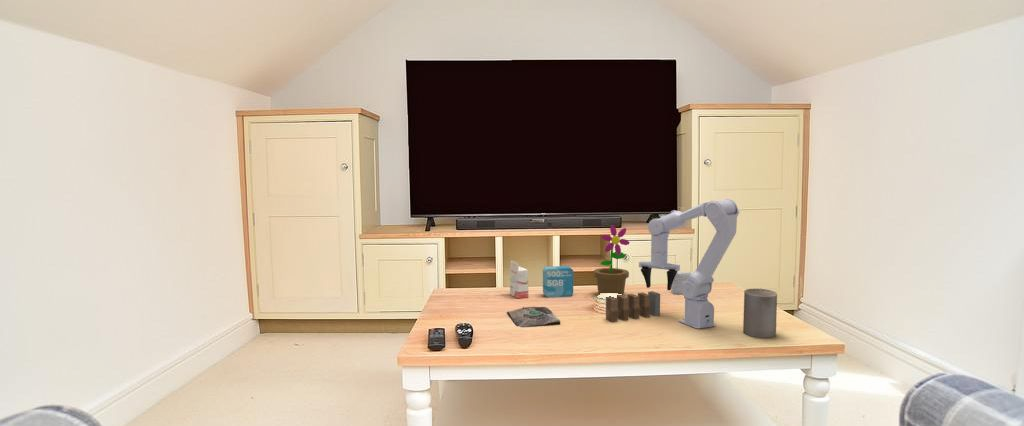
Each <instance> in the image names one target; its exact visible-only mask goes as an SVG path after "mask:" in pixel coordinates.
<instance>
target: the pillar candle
mask: <svg viewBox="0 0 1024 426" xmlns="http://www.w3.org/2000/svg"><path fill="white" fill-rule="evenodd" d="M777 306H778V293H777V292H776V291H774V290H770V289H765V288H747V289H745V290H744V296H743V321H742V323H743V325H742V326H743V327H742V331H743V332H742V333H743V334H744V335H746V336H749V337H753V338H758V339H767V338H769V339H770V338H772V339H773V338H775V337H776V336H777V308H778V307H777Z"/></svg>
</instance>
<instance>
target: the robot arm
mask: <svg viewBox="0 0 1024 426" xmlns="http://www.w3.org/2000/svg"><path fill="white" fill-rule="evenodd" d="M739 214H740V210H739V207H738V206H737V204H736V202H735V201H734V200H732V199H728V198H727V199H722V200H710V201H707V202H702V203H701V204H698V205H696V206H694V207H692V208H690V209H687V210H685V211H680V210H675V209H673V210H671V211H670V213H668V214H666V215H665V214H663V215H660V218H652V219H651V220H650V221H649V222H648V224H647V229H648V232H649V233H650V237H651V240H650V242H651V243H650V244H651V245H650V253H651V254H650V261H643V260H642V261H641V260H640V261H639V262H638V268H640V272H641V274H642V275H643V278H644V282H645V286H646V288H648V289H649V288H651V283H652V282H651V280H652V279H651V275H652V269H657V270H664V271H666V270H667V271H666V277H667V283H666V287H667V288H666V289H667V291H671V286H672V283H673V280H674V278H675V276H676V274H677V272H680V271H681V265H680V264H675V263H671V262H670V263H669V262H668V247H669V246H668V245H669V243H668V242H669V240H668V238H669V237H670V235H669V234H670V232H672V231H674V230H677V229H679V228H681V227H684V226H686V223H687V222H688V221H691V220H693V219H697V218H699V217H705V218H707V219H708V221H709V222H710V223H711V225H712V226H713V227H714V229H715V231H716V233H715V234H714V236H713V238H712V240H711V241H710V244H709V246H707V249H706V251H705V253H704V254H703V257H702V258H701V260H700V262H699V263H698V265H697V267H696V269H695V270H694V272H691V275H690V276H689V277H688V279H687V280H686V281H684V282H683V283H682V284H681V292H682V294H681V295H683V297H684V298H683V299H684V319H679V320H678V322H680V323H682V324H684V325H686V326H689V327H692V328H695V329H697V330H698V329H704V328H711V327H716V325H717V324H715V307H714V304H713V303H712V302H710V301H709V299H708V297H709V295H710V293H711V292H712V289H713V282H714V281H715V280H714V278H713V275H714V273H715V271H716V270H717V268H718V266H719V264H720V262H721V261H722V259H723V257H724V255H725V254H726V252H727V250H728V249H729V247H730V245H731V243H732V241H733V240H734V238H735V235H736V234H737V226H738V225H737V223H738V217H739Z"/></svg>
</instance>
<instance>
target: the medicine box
mask: <svg viewBox="0 0 1024 426" xmlns="http://www.w3.org/2000/svg"><path fill="white" fill-rule="evenodd" d="M691 274H692V272H690V271H688V272H687V271H678V272H677V274H676V276H675V278H674V280H673V283H672V286H671V290H670V291H671V293H672V295H683V294H682V292H681V284H682V283H683V282H684V281H686V280H687V279H688V277H689V276H690V275H691Z"/></svg>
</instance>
